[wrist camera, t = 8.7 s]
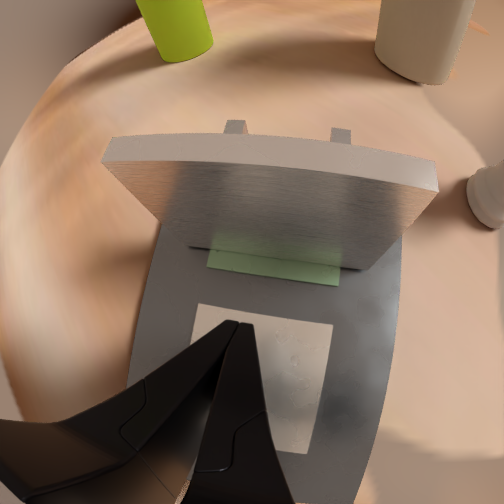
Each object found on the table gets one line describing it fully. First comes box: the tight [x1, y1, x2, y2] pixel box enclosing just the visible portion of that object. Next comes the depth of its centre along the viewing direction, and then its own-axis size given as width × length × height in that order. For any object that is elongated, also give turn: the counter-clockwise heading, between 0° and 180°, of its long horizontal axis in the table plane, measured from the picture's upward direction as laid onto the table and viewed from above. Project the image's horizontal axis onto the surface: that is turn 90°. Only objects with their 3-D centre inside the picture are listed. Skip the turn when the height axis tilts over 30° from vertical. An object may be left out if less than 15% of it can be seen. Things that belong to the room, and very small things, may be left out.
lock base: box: [126, 224, 402, 504], centre depth 13 cm, size 20×14×6 cm
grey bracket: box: [101, 120, 439, 270], centre depth 12 cm, size 6×10×8 cm, turn 80°
